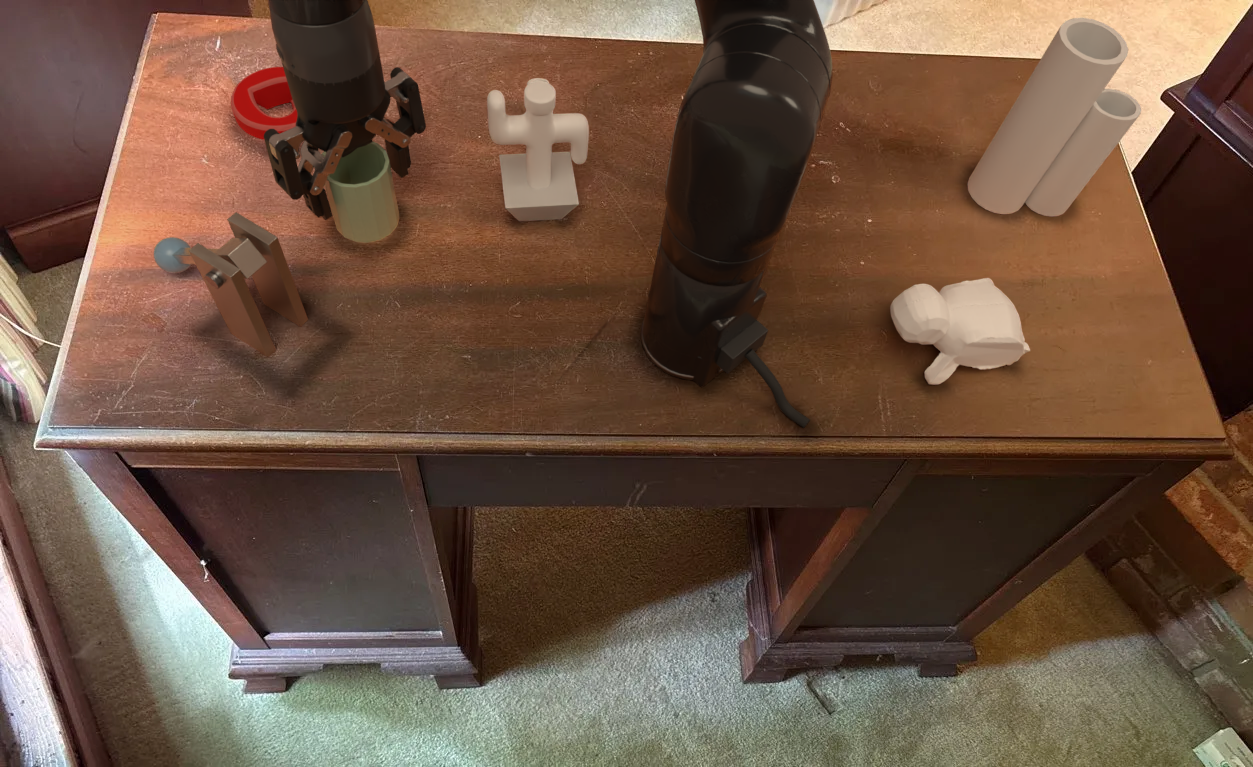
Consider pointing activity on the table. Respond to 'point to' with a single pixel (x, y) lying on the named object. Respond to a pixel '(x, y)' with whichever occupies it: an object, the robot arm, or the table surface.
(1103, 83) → the vase
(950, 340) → the white low-poly sculpture
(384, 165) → the cup
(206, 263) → the brown upright slabs
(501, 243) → the table surface
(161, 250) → the ball-ended lever
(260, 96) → the decorative ornament
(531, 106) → the figurine
